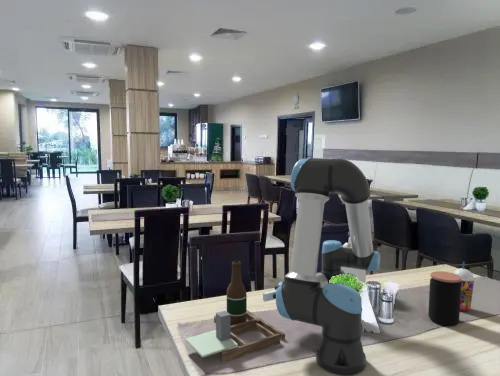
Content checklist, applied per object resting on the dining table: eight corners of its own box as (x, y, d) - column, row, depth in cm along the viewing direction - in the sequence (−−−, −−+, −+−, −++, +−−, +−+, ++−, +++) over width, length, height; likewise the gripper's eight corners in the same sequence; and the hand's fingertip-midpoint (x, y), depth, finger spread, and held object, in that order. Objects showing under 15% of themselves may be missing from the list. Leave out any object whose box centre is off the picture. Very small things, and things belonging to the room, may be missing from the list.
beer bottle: (244, 328, 140) (244, 265, 138) (223, 326, 142) (223, 264, 140) (248, 319, 148) (248, 259, 146) (229, 317, 149) (229, 258, 147)
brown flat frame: (286, 340, 132) (286, 332, 132) (222, 362, 118) (222, 353, 117) (243, 312, 154) (243, 305, 154) (185, 328, 140) (185, 320, 140)
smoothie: (468, 315, 153) (471, 266, 151) (446, 308, 159) (448, 261, 157) (475, 309, 158) (478, 262, 156) (454, 303, 164) (456, 258, 163)
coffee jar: (462, 320, 148) (464, 275, 146) (454, 329, 140) (457, 282, 138) (433, 312, 155) (435, 269, 153) (424, 321, 147) (426, 275, 146)
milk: (359, 297, 171) (361, 240, 169) (334, 292, 177) (336, 237, 175) (365, 288, 182) (367, 235, 179) (342, 284, 187) (343, 232, 185)
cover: (237, 345, 122) (237, 319, 121) (202, 357, 115) (202, 329, 114) (218, 330, 132) (218, 306, 131) (185, 340, 125) (184, 314, 124)
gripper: (325, 299, 142) (275, 314, 129) (301, 288, 153) (253, 301, 140) (325, 279, 142) (275, 292, 128) (302, 270, 152) (253, 281, 139)
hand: (264, 297), depth 134 cm, fingers closed
